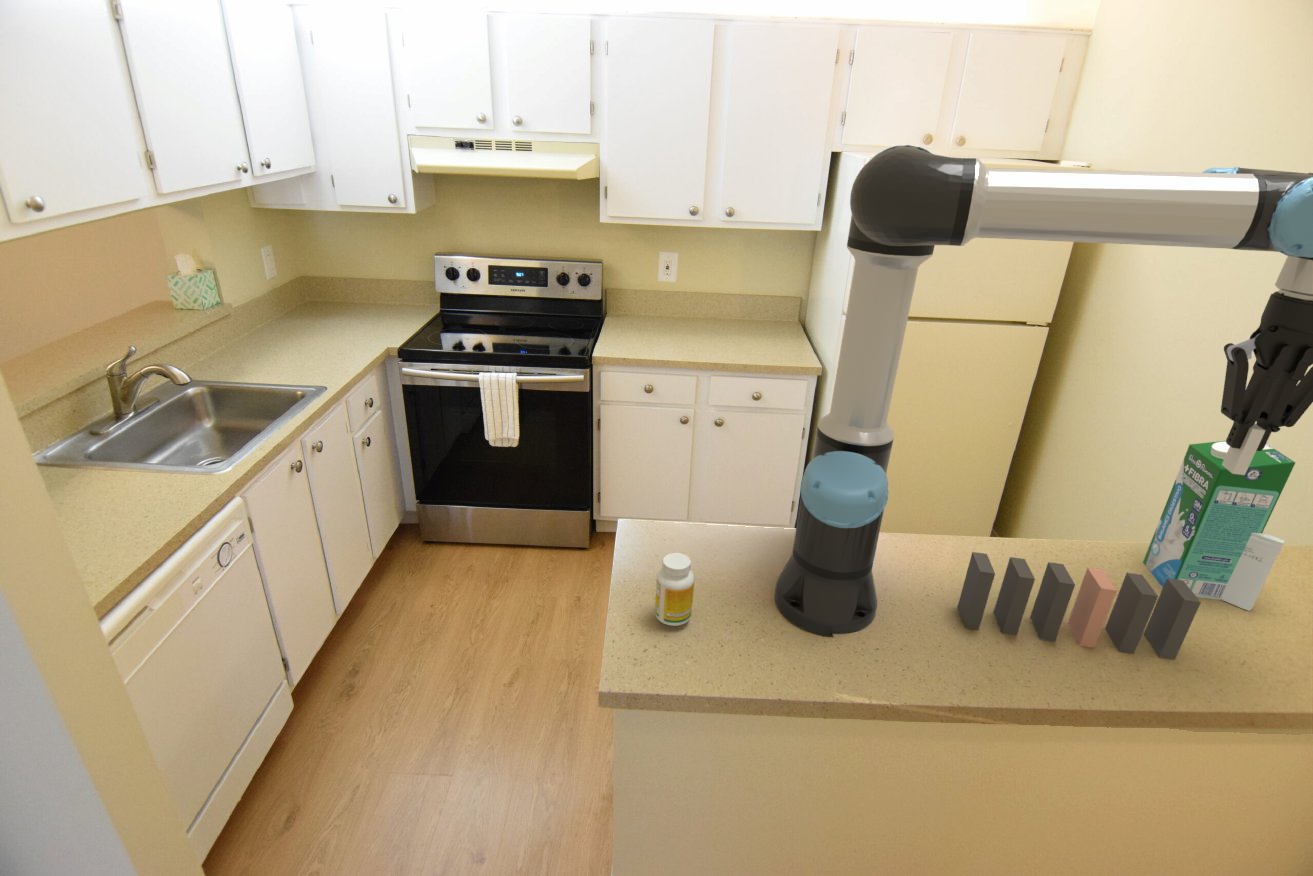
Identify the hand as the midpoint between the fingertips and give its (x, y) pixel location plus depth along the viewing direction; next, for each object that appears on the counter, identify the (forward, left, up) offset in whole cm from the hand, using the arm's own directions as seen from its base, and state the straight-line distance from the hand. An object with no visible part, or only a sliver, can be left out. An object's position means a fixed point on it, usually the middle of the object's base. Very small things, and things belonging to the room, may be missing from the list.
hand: (1233, 469), depth 93 cm
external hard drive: (+11, +9, -26) cm, 30 cm away
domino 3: (-19, -6, -26) cm, 33 cm away
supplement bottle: (-72, -16, -26) cm, 79 cm away
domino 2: (-24, -6, -26) cm, 36 cm away
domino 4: (-14, -6, -26) cm, 30 cm away
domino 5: (-9, -6, -26) cm, 28 cm away
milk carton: (+8, +13, -26) cm, 30 cm away
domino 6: (-3, -6, -26) cm, 27 cm away
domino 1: (-29, -6, -26) cm, 40 cm away
